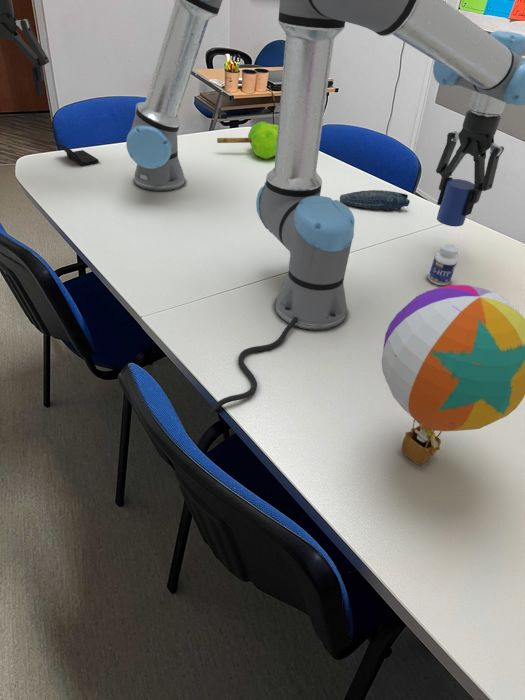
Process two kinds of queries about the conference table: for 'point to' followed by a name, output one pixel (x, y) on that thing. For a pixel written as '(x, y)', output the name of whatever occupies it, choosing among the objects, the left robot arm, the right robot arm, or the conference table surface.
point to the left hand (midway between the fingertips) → (13, 92)
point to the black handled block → (79, 155)
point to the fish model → (376, 199)
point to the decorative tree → (259, 139)
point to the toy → (454, 363)
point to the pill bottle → (443, 265)
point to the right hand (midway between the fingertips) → (453, 208)
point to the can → (454, 202)
